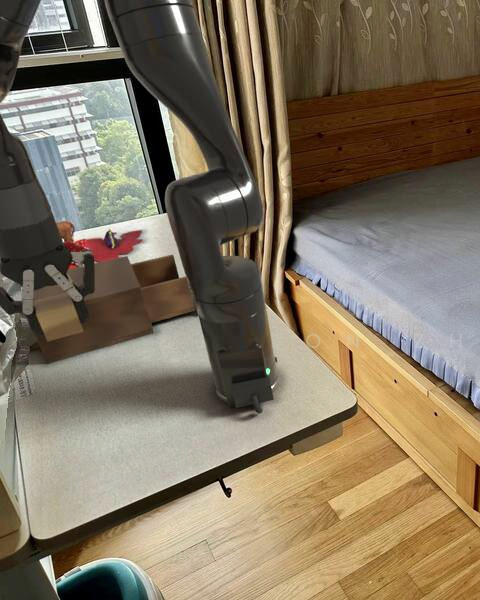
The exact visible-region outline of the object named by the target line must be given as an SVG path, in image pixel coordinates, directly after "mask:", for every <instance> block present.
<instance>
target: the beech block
mask: <svg viewBox="0 0 480 600" xmlns="http://www.w3.org/2000/svg"><path fill="white" fill-rule="evenodd" d="M35 311H36V316H37V318H38V321H39V323H40V325H41V328H42V330H43V332H44V335H45V337H46V339H47V341H52V340H55V339H59V338H62V337H66V336H69V335H73V334H76V333H80V332H83V327H82V324H81V322H80V320H79V317H78V314H77V312H76V309H75V306H74V304H73V300H72V298H71V297H70V296H69V295H68V293H64V294H60V295H56V296H52V297H48V298H44V299H40V300H36V301H35Z"/></svg>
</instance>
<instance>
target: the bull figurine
mask: <svg viewBox="0 0 480 600" xmlns="http://www.w3.org/2000/svg"><path fill="white" fill-rule="evenodd" d="M56 224H57V227H58V230H59V232H60V235H61V238H62V240H63V242H68V241H74V242H75V234H74V233H75V231H76V229H75V228H76V227H75V225H74V224H73V223H72V222H71V221H68V220H63V221H56Z"/></svg>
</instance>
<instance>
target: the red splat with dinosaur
mask: <svg viewBox="0 0 480 600" xmlns="http://www.w3.org/2000/svg"><path fill="white" fill-rule="evenodd" d="M142 232H143V230H142V229H140V230H139V229H138V230H133V231H127V232H124V233H122V234H121V235H120V236H121V238H117V237H116V236H115V235H117V234H118V232H117V231H116V232H115V231H112V230H111V228H108V230H107V231H106V232H105V234H104V237H103V238H101V237H98V238H97V237H96V238H88V239H86V243H87V247H88V248H89V250H91V251H92V253H93V256H94V262H97V263H99V262H103V261H107V260H112V259H116V258H120V257H119V255H128V254H130V253H131V252H132V251H134V246H135V245H136V244H139V243H142V242H143V239H142V238H140V236H141V233H142Z"/></svg>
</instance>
